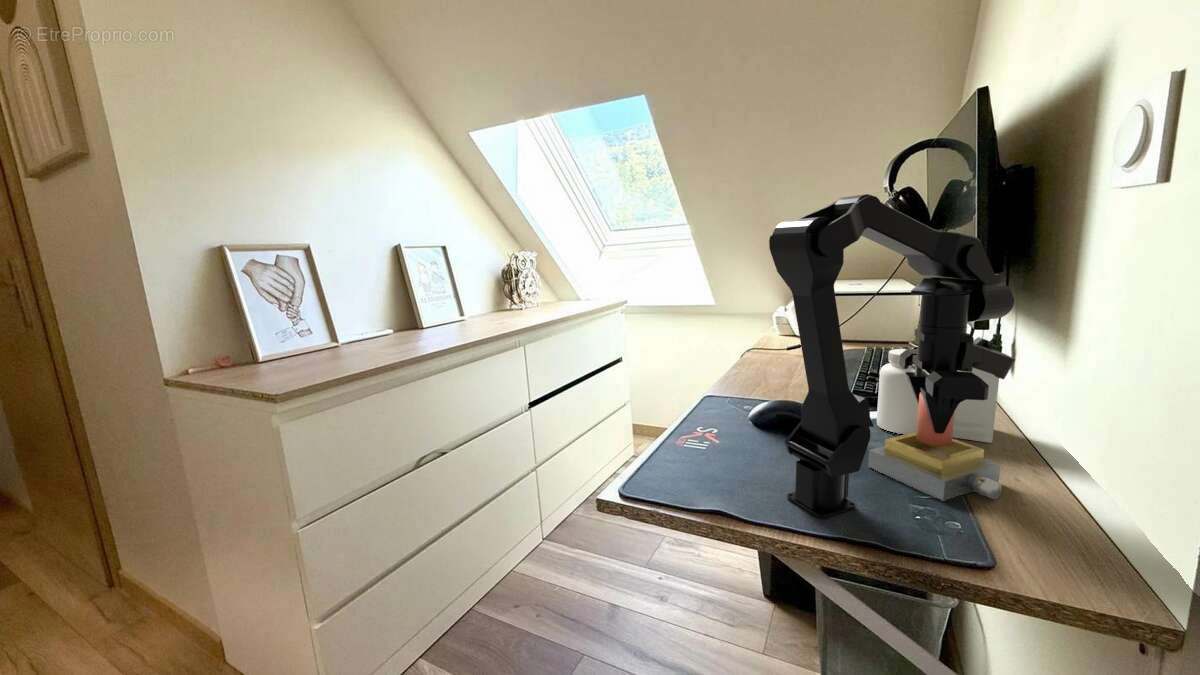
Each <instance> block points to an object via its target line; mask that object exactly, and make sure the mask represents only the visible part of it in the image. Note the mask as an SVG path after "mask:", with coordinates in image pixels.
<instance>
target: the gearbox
mask: <svg viewBox="0 0 1200 675" xmlns="http://www.w3.org/2000/svg"><path fill="white" fill-rule="evenodd" d="M916 432H917V431H916ZM916 432H913V433H909V434H905V435H897V436H893V437H890V438H885V439H884V445H881V446H879V447H875V448H871V449H869V450H868V460H867V462H868V464H867V468H868V467H870V468H872V469H874V470H873V471H875V470H876V471H875V472H877V471H878V472H877V473H879V472H880V473H879V474H881V473H883V474H885V475H884V476H886V475H887V476H886V477H888V476H889V477H888V478H890V477H891V478H890V479H892V478H893V479H892V480H894V479H895V480H894V481H897V482H899V481H900V482H899V483H901V482H902V483H901V484H903V483H904V484H903V485H905V484H906V486H908V487H910V488H912V487H913V489H914V490H916V489H917V491H919V492H921V493H923V494H925V495H928V496H929V495H930V497H932V498H934V499H936V498H937V499H936V500H938V499H940V500H941V502H943V501H944V502H946V501H945V500H947V499H950V498H953V497H955V496H958V495H961V494H964V495H967V494H970V493H973V492H975V493H978V494H979V495H982V496H983V497H986V498H989V499H992V500H997V498H999V497H1000V495H1001V493H1002V484H1001V482H1000V473H1001V465H1002V464H1001V463H999V462H997V461H994V460H991V459H988V458H984V456H985V454H984V453H985V448H982V447H979V446H976V445H972V444H970V443H967V442H964V441H961V440H958V439H956V438H952V444H951V445H948V446H935V445H929V444H925V443H923V442H920V441H918V440H917V439H916ZM870 468H869V469H870ZM872 469H871V470H872ZM883 474H882V475H883ZM953 499H954V498H953ZM940 500H939V501H940ZM950 500H951V499H950ZM947 501H948V500H947Z"/></svg>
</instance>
